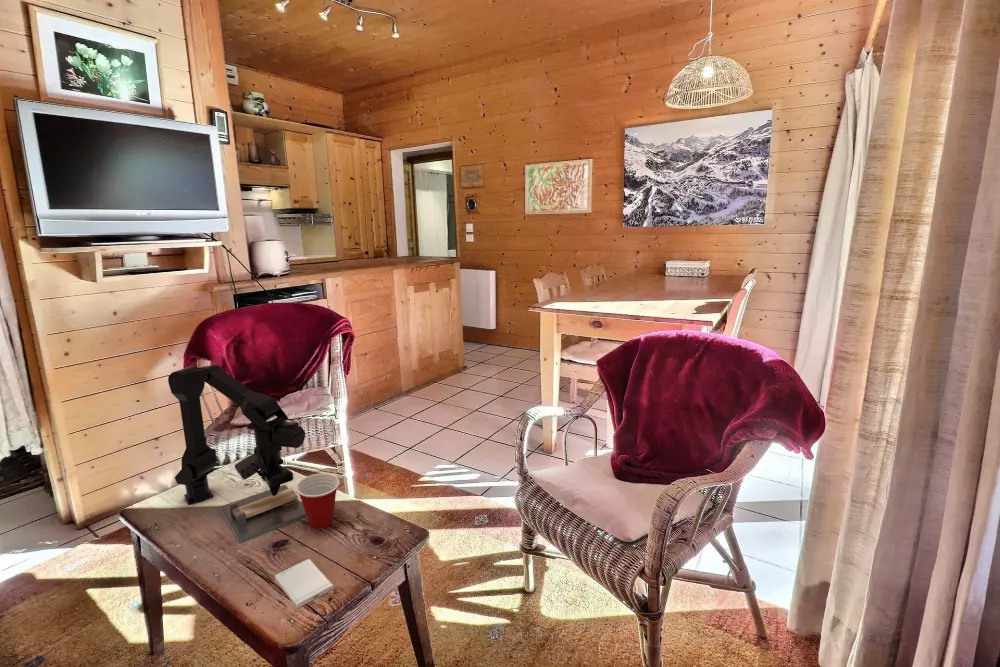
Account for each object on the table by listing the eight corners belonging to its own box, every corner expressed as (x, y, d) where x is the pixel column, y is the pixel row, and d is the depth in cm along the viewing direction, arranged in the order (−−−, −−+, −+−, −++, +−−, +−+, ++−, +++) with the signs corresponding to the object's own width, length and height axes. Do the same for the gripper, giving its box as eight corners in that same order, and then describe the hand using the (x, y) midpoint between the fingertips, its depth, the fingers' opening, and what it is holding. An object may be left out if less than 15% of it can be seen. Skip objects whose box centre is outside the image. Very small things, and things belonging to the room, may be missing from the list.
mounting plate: (219, 509, 142) (217, 496, 141) (285, 487, 153) (283, 474, 152) (239, 543, 127) (236, 528, 126) (310, 515, 138) (308, 501, 137)
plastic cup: (316, 541, 127) (312, 498, 124) (292, 526, 133) (287, 485, 131) (351, 520, 136) (347, 479, 133) (326, 507, 142) (322, 468, 139)
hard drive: (274, 575, 113) (296, 604, 105) (309, 558, 119) (333, 584, 110) (275, 581, 114) (297, 610, 105) (310, 564, 119) (334, 590, 111)
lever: (232, 515, 137) (231, 509, 136) (291, 492, 147) (290, 487, 146) (237, 523, 133) (236, 517, 133) (297, 499, 143) (297, 493, 143)
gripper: (226, 441, 139) (234, 492, 143) (245, 465, 125) (253, 520, 129) (268, 430, 146) (275, 478, 150) (290, 451, 132) (297, 504, 136)
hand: (274, 495), depth 141 cm, fingers closed
